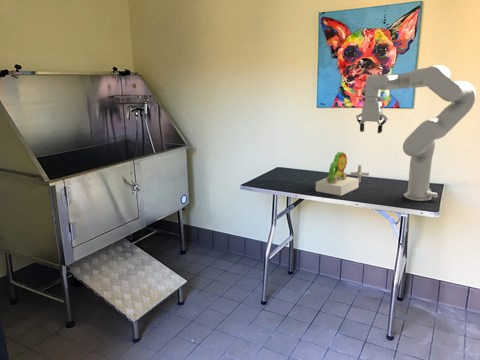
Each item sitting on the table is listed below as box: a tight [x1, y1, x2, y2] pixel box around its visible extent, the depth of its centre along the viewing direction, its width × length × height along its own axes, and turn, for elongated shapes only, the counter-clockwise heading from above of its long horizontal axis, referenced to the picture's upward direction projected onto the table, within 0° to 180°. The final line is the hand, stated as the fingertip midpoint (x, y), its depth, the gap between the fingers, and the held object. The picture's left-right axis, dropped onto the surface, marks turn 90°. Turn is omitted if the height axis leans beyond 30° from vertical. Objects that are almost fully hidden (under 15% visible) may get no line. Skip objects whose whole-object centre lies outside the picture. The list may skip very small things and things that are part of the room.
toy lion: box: [326, 151, 348, 183], centre depth 214 cm, size 16×5×15 cm, turn 139°
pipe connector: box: [349, 164, 370, 184], centre depth 228 cm, size 10×10×10 cm
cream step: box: [315, 176, 360, 197], centre depth 216 cm, size 15×20×5 cm
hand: (370, 132), depth 212 cm, fingers open, 9 cm apart
